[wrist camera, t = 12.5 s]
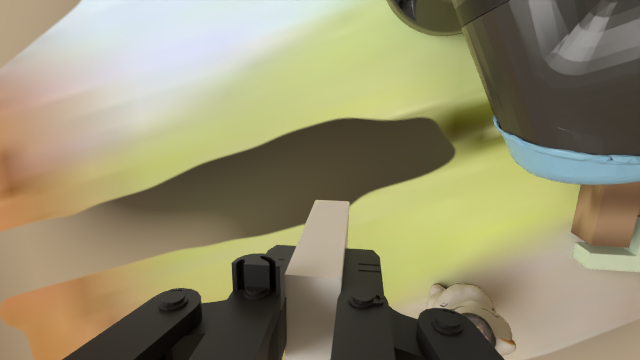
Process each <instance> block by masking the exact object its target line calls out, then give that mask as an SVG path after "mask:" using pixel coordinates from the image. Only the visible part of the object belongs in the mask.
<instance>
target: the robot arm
mask: <svg viewBox="0 0 640 360" xmlns="http://www.w3.org/2000/svg"><path fill="white" fill-rule="evenodd" d="M387 2H388V4H389V6H390V7H391V9H392V10H393V12H394V13H395V14H396V15H397V17H398V18H399V19H400V20H401V21H403V22H404V23H405V24H407V25H408V26H409V27H411V28H413V29H415V30H417V31H419V32H422V33H425V34H429V35H436V36H448V35H455V34H460V33H463V34H464V36H465V39H466V42H467V44H468V47H469V50H470V52H471V55H472V58H473V60H474V63H475V66H476V68H477V71H478V73H479V76H480V79H481V81H482V84H483V87H484V89H485V92H486V95H487V97H488V100H489V103H490V105H491V108H492V111H493V113H494V116H493V121H494V124H495V126H496V128H497V129H498V131H499V132H500V133H501V134H502V136H503V138H504V140H505V142H506V145H507V147H508V149H509V152H510V154H511V156H512V158H513V159H514V160H515V162H516V163H517V164H518V165H520V166H522V167H523V169H525V170H527V171H528V172H529V173H531V174H533V175H535V176H538V177H541V178H544V179H547V180H551V181H556V182H562V183H570V184H584V185H610V184H624V183H632V182H639V181H640V0H387ZM348 220H349V202H344V201H326V200H325V201H324V200H316V201H315V203H314V205H313V208H312V210H311V213H310V215H309V217H308V220H307V222H306V224H305V227H304V229H303V232H302V234H301V236H300V239H299V241H298V244H297V246H287V245H276V246H275V247H273V248H271V249H270V250H268V251H267V253H266V254H249V255H244V256H242V257H240V258H237V259H236V260H235V261H233V262H232V280H233V291H232V293H231V294H230V296H229V298H228V299H227V300H223V301H218V302H210V303H201V296H200V294H199V293H198V292H197V291H194V290H192V289H185V288H178V289H177V288H176V289H171V290H169V291H165V292H162V293H160V294H159V295H157V296H155V297H153V298H152V299H150V300H149V301H147V302H146V303H144V304H143V305H141V306H140V307H139V308H137V309H136V310H134V311H133V312H131V313H130V314H128V315H127V316H125V317H124V318H122V319H121V320H120V321H118V322H117V323H115V324H114V325H112V326H111V327H109V328H108V329H106V330H105V331H103V332H102V333H101V334H99V335H98V336H96V337H95V338H93V339H92V340H90V341H89V342H87V343H86V344H84V345H83V346H82V347H80V348H79V349H77V350H76V351H74V352H73V353H71V354H70V355H68V356H67V357H66V358H64V359H63V360H282V356H283V353H284V349H285V360H504V358H503V357H502V356H501V355H500V354H499V353H498V351H497V350H496V349H495V348H494V347H493V345H492V344H491V343H490V342H489V341H488V340H487V338H486V337H485V336H484V335H483V334H482V333H481V331H480V330H479V329H478V328H477V327H476V325H475V324H474V323H473V322H472V321H471V320H469V319H468V318H467V317H466V316H464V315H462V314H460V313H458V312H456V311H454V310H451V309H446V308H430V309H426V310H424V311H423V312H421V313H420V315H419V318H418V319H415V318H412V317H408V316H405V315H403V314H400V313H398V312H397V311H395V310H393V309H392V308H391V307H390V306H389V305H388V301H387V299H386V297H385V296H384V291H383V282H382V273H381V265H380V257H379V256H378V255H377V254H376V253H375V252H374V251H373V250H363V249H348V248H347V245H348Z"/></svg>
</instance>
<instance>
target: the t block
mask: <svg viewBox="0 0 640 360" xmlns="http://www.w3.org/2000/svg"><path fill="white" fill-rule="evenodd" d="M638 215H640V181H639V182H632V183H624V184H610V185H584V184H581V187H580V192H579V197H578V201H577V206H576V211H575V215H574V220H573V225H572V229H571V232H572V233H573V234H575V235H576V236H578V237H579V238H581V239H582V240H584V241H585V242H587V243H588V244H590V245H592V246H608V247H625V248H629V246H630V242H631V239H632V235H633V231H634V227H635V223H636V219H637V216H638Z"/></svg>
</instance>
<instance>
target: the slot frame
mask: <svg viewBox="0 0 640 360" xmlns="http://www.w3.org/2000/svg"><path fill="white" fill-rule="evenodd" d="M573 258H574V259H576V260H577V261H578V262H580V263H581V264H582V265H583V266H585V267H586V268H587V269H600V270H615V271H630V272H640V215H638V216H637V219H636V223H635V227H634V231H633V235H632V239H631V242H630V246H629V248H625V247H608V246H592V245H590V244H588V243H576V244H575V249H574V253H573Z"/></svg>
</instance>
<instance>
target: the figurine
mask: <svg viewBox="0 0 640 360" xmlns="http://www.w3.org/2000/svg"><path fill="white" fill-rule="evenodd" d="M430 308H446V309H451V310H454V311H456V312H458V313H460V314H462V315H464V316H466V317H467V318H468V319H469V320H471V321H472V322H473V323H474V324H475V325H476V327H477V328H478V329H479V330H480V331H481V333H482V334H483V335H484V336H485V337H486V338H487V340H488V341H489V342H490V343H491V344H492V345H493V347H494V348H495V349H496V350H497V351H498V353H499V354H500V355H501V356H504V355H507V354H510V353H512V352H513V351H515V349H516V344H515V342H514V341H513V340H512V333H511V329H510V326H509V325H508V323H507V322H506V321H505V320H504V319H503V318H502V317H501V316H500V315H499V314H497V313H496V310H495V308H494V305H493V303H492V301H491V300H490V299H489V298H488V296H487V295H486V294H485V292H484V291H483V290H482V289H480V288H479V287H477V286H475V285H467V284H465V283H461V284H458V283H457V284H454V285H452V286H450V287H449V288H447V289H445V288H444V287H442V286H440V285H439V284H434V285H433V286H432V287H431V291H430V298H429V299H428V301H427V309H430Z"/></svg>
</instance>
